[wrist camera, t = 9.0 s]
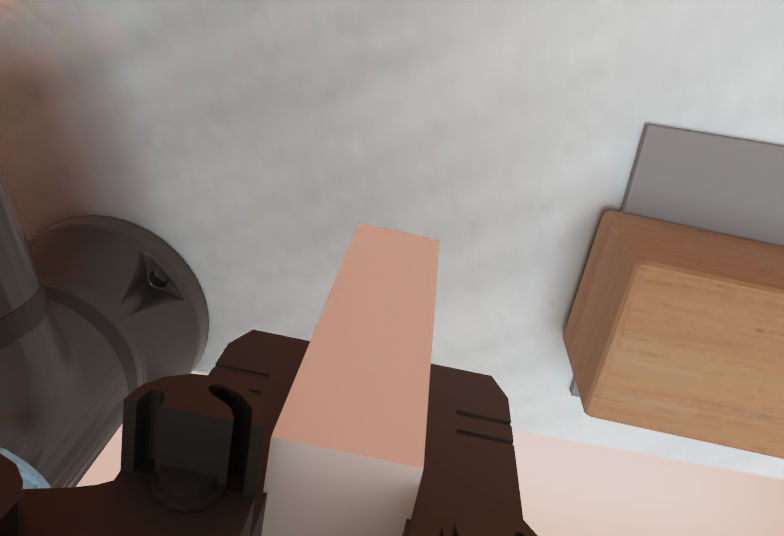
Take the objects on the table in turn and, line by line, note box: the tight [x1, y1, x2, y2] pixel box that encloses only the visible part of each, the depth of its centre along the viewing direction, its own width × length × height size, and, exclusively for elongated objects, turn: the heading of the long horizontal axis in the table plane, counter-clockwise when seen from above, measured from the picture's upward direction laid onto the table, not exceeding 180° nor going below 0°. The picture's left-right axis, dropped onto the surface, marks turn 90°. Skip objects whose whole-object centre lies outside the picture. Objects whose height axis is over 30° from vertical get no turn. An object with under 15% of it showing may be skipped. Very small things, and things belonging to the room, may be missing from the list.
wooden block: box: [563, 210, 784, 459], centre depth 43 cm, size 10×10×20 cm
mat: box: [570, 123, 784, 397], centre depth 48 cm, size 16×20×1 cm
